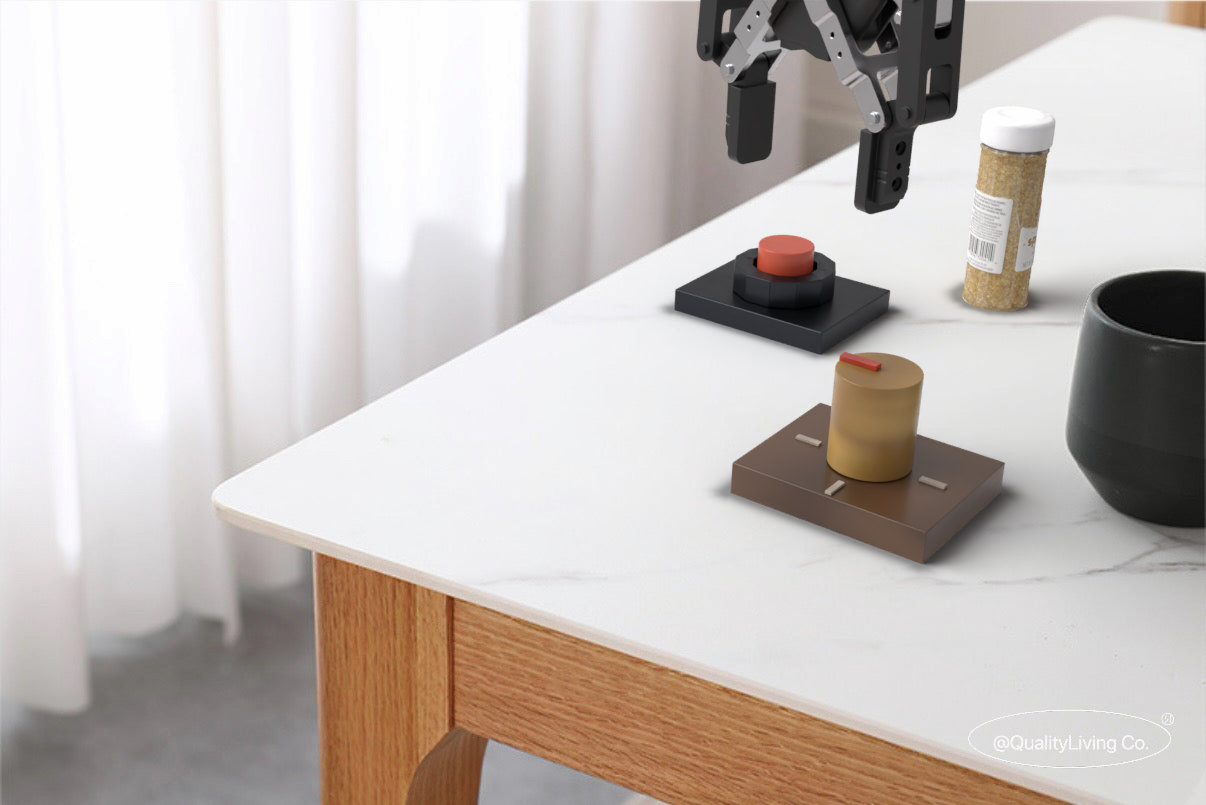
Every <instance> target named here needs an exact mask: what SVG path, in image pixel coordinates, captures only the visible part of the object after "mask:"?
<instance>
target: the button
mask: <svg viewBox="0 0 1206 805" xmlns="http://www.w3.org/2000/svg"><path fill="white" fill-rule="evenodd" d="M757 248H758V260H757V269H759V270H760V271H763V272H766V273H770V274H774V275H778V276H800V275H807V274H810V273H811V272H812V271H813V262H814V251H815V248H816V247H815V244H814V242H813V241H811V240H809V239H808V238H805V237H802V236H798V235H792V234H775V235H774V234H773V235H768V236H765V237H763V238H761V239H760V240H759V241H758V247H757Z"/></svg>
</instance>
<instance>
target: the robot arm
mask: <svg viewBox="0 0 1206 805" xmlns="http://www.w3.org/2000/svg"><path fill="white" fill-rule="evenodd" d="M965 9H966V0H700V1H699V13H698V21H697V23H698V24H697V35H696V53H697V56H698V57H699V59H700V60H701V61H702V62H711V61H712V62H713V63H714V64H715V65H716V66H718V68H719V70H720V71H719V72H720V75H721V78H722V79H723V80H724V81H725V82H726V83H727V97H726V113H725V114H726V116H725V122H726V123H725V130H724V132H725V134H724V135H725V141H726V146H727V157H728V159H729V160H730V161H732V162H735V163H737V164H740V165H747V164H752V163H755V162H760V161H765V160H766V159H768V158H769V157H770V155H771V153H772V150H773V139H774V138H773V137H774V123H775V109H776V108H775V107H776V93H777V81H773V80H770V79H769V76H772V75H773V74H774V73H775V71H776V70H777V68H778V67H779V65H780V64H781V63H782V61H783V60H784V58H785V57H786V56H787V54H788V53H789V52H790V51H802V50H803V51H805V52H807V53H808V54H810V55H811V56H813V58H815V59H816V60H817V59H818V60H822V61H824V62H831V63H832V67H833V69H834V71H835V74H836V77H837V79H838V81H839V82H840V84H842V85H844V86H846V87H847V88H848V89H850V90H851V93H852V95H853V97H854V100H855V102H856V104H857V108H858V110H859V112H860V115H861V118H862V120H863V123H864V126H865V128H861V129H860V134H859V144H858V145H859V146H858V155H857V166H856V178H855V186H854V196H853V197H854V198H853V205H854V208H855V209H856V210H857V211H861V212H863V213H866V214H868V215H874V214H877V213H878V214H880V213H882V212H886V211H890V210H893V209H895V208H897V206H898V205H899V203H900V202H901V200H904V198H905V196H906V193H907V191H908V189H909V181H910V180H909V179H910V177H909V176H910V172H911V171H910V169H911V168H910V167H911V163H912V155H913V154H912V153H913V143H914V135H915V132H916V131H917V128H918V127H920V126H924V125H927V124H932V123H933V124H934V123H936V122H941V121H946V120H950V119H953V118H954V117H955V115H957V114H956V113H957V111H958V105H959V90H960V79H961V78H960V77H961V64H962V50H963V38H964V23H965ZM727 11H730V16H729V25H728V26H729V27H728V31H727V32H726V31H725V32H723V24H724V16H725V13H726V12H727ZM874 44H876V45H877V48H878V50H879V53H878V54H872V55H866V54H865V53H867V52H868V51H869V50H870V49H871V48H872V47H873V46H874ZM929 71H930V76H929V90H928V92H927V85H928V73H929ZM880 81H881V82H882V83H883V84H884V86H885V89H886V92H887V94H888V96H889V99H890V100H887V99H886V97H885V94H884V90H883V89H882V86H881V83H880Z"/></svg>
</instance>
